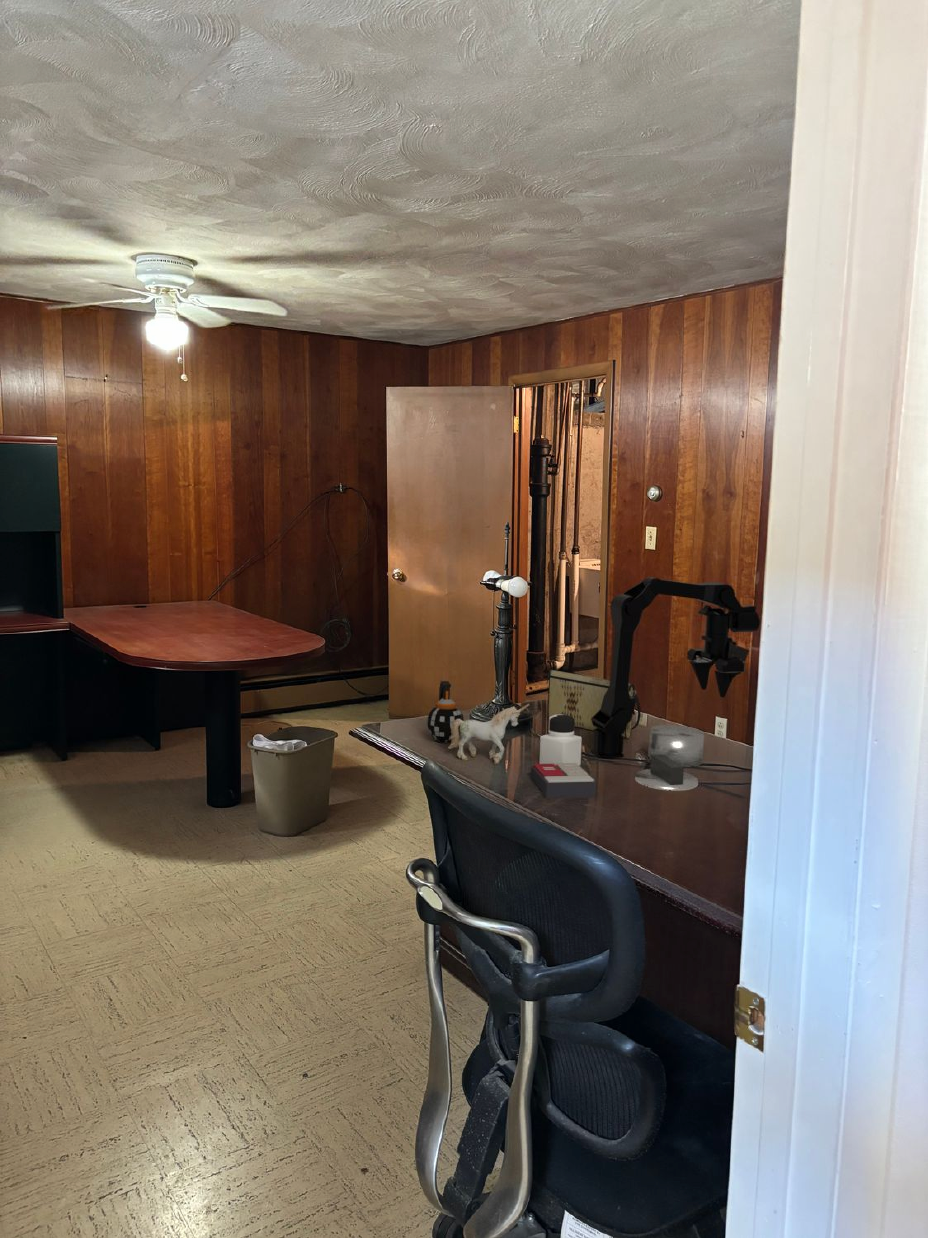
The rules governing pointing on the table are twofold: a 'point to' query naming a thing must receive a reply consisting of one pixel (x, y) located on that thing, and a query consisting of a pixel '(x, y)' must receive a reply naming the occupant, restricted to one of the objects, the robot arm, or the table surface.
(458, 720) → the unicorn figurine
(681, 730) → the grey cylinder drum
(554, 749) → the medicine bottle
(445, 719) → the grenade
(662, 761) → the lid
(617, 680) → the robot arm
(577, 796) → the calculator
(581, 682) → the clutch purse
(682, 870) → the table surface
